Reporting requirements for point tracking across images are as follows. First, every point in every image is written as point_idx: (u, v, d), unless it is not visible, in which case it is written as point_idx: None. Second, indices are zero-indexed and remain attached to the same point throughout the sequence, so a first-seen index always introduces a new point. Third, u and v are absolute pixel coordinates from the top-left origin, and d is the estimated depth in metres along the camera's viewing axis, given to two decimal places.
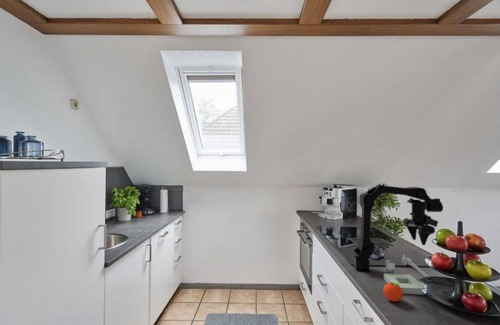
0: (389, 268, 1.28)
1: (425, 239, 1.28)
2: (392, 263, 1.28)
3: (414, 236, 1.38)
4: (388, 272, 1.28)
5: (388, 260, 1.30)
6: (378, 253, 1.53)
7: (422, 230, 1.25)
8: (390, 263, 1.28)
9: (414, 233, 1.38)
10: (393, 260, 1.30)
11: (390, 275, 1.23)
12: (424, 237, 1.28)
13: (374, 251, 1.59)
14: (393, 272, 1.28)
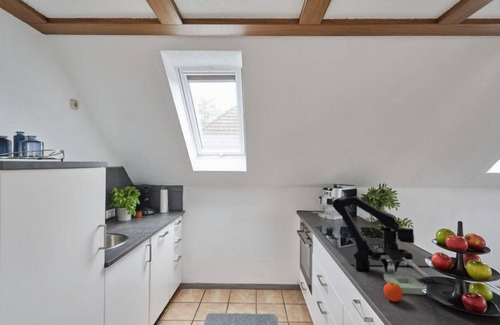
0: (389, 268, 1.28)
1: (383, 265, 1.29)
2: (392, 263, 1.28)
3: None
4: (388, 272, 1.28)
5: (388, 260, 1.30)
6: None
7: None
8: (390, 263, 1.28)
9: (395, 265, 1.29)
10: (393, 260, 1.30)
11: (390, 275, 1.23)
12: (383, 263, 1.30)
13: None
14: (393, 272, 1.28)
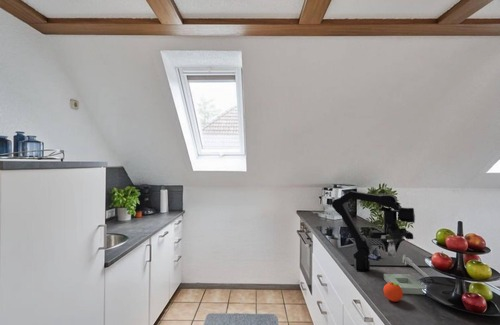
0: (390, 248, 1.27)
1: (384, 245, 1.29)
2: (393, 243, 1.27)
3: (395, 248, 1.28)
4: (389, 252, 1.28)
5: (389, 240, 1.29)
6: (376, 253, 1.53)
7: None
8: (391, 243, 1.27)
9: (395, 245, 1.28)
10: (393, 240, 1.29)
11: (390, 275, 1.23)
12: (383, 243, 1.29)
13: None
14: (394, 252, 1.27)
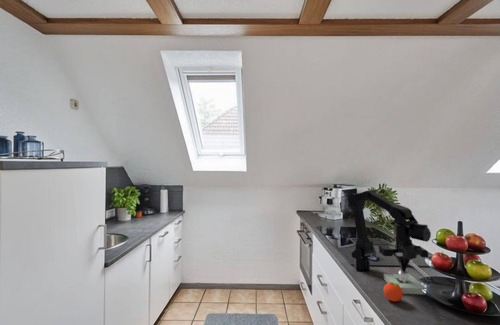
0: (403, 279, 1.16)
1: (400, 264, 1.17)
2: (406, 273, 1.16)
3: None
4: None
5: (401, 270, 1.18)
6: (375, 254, 1.52)
7: None
8: (404, 273, 1.16)
9: None
10: (407, 270, 1.18)
11: (390, 275, 1.23)
12: (399, 261, 1.18)
13: None
14: None
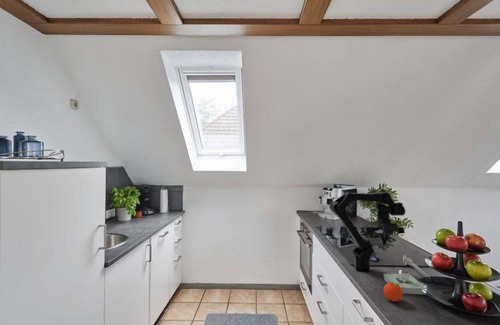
0: (403, 279, 1.16)
1: (381, 239, 1.37)
2: (406, 273, 1.15)
3: None
4: None
5: (402, 270, 1.18)
6: (374, 254, 1.51)
7: None
8: (404, 273, 1.16)
9: (384, 239, 1.37)
10: (407, 270, 1.18)
11: (390, 275, 1.23)
12: (380, 237, 1.38)
13: None
14: None
